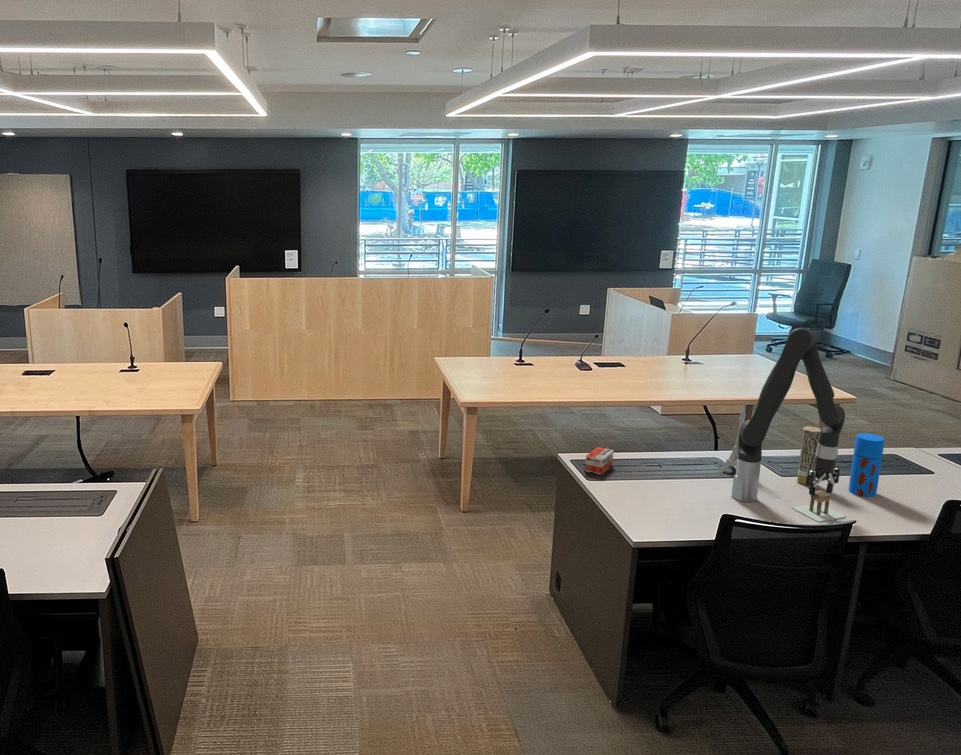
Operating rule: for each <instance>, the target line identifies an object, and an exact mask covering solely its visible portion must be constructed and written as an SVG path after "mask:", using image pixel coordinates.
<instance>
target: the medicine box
mask: <svg viewBox="0 0 961 755" xmlns="http://www.w3.org/2000/svg"><path fill="white" fill-rule="evenodd" d="M613 461H614V450H613V449H609V448H603V447H599V446H598V447H595V449H593V450H592V451H590V452H589V453H588V454H586V455H585V461H584V462H585V463H584V464H585V465H584V471H585V470H588V471H593V472H597V473H603V472H604V471H605V470H606V469H607V468H609V467H610V466H611V465H612V466H613ZM609 469H610V468H609ZM603 474H604V473H603Z"/></svg>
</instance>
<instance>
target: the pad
mask: <svg viewBox="0 0 961 755" xmlns="http://www.w3.org/2000/svg"><path fill="white" fill-rule="evenodd" d="M809 508H810V504H806V505H800V506H799V505H798V506H795V507H794V506H793V507H792V508H791V509H792V510H794V511H796V512H797V513H800V514H802V515H804V516H805V517H808V518H809V519H811V520H813V521H815V522H817V523H822V522H829V521H835V520H839V519H841V520H842V519H846V518H847V516H846V515H843V514H842V513H840V512H838V511H835V510H833V509H831V508H830V507H829V508H828V514H825V513H824V508H825V505H824V504H822V506H821V514H820V515H817V503H814V508H813V511H812V512H811V511H809Z"/></svg>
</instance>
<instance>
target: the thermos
mask: <svg viewBox="0 0 961 755" xmlns="http://www.w3.org/2000/svg"><path fill="white" fill-rule="evenodd" d="M884 447H885V438H884V437H883V436H881V435H878V434H874V433H868V432H867V433H858V434H856V436H855V442H854V449H853V455H852V462H851V470H850V474H849V475H850V476H849V484H848V491H849V493H850V494H852V495H854V496H857V497H861V498H873V497H876V495H877V491H878V486H879V485H878V484H879V480H880V474H881V473H880V472H881V467H882V460H883V459H882V458H883V453H884Z"/></svg>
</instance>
